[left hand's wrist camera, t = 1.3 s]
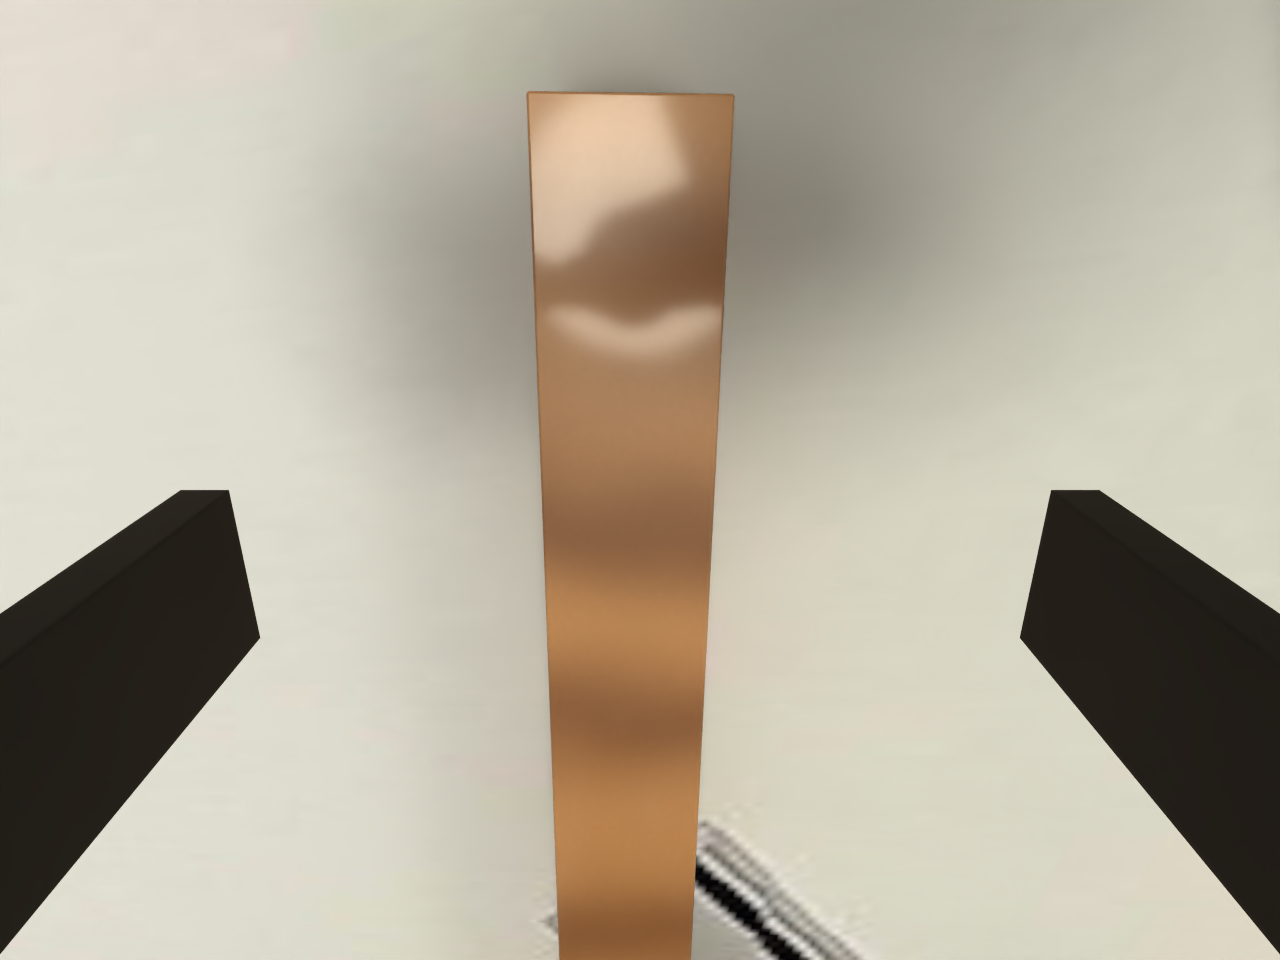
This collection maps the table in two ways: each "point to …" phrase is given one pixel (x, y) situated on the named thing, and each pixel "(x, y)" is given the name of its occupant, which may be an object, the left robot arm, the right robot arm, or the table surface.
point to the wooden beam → (627, 493)
